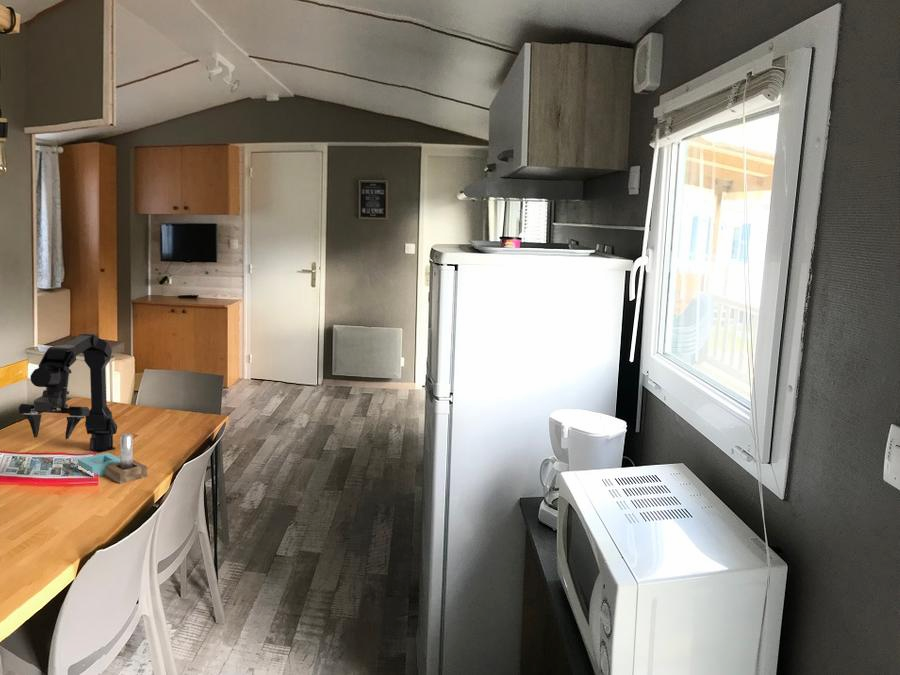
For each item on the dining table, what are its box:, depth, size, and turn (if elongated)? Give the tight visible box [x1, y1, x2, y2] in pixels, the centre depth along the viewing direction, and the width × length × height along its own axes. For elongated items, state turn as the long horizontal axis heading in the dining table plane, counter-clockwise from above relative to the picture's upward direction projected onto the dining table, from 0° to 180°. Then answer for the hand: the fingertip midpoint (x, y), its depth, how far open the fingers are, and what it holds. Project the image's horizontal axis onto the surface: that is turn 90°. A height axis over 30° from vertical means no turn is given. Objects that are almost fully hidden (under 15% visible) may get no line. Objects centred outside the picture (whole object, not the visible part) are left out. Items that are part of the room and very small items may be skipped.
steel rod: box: [119, 433, 134, 470], centre depth 214 cm, size 4×4×14 cm
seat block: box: [77, 452, 120, 477], centre depth 219 cm, size 10×10×4 cm
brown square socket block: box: [105, 459, 148, 484], centre depth 215 cm, size 9×9×4 cm
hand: (51, 438), depth 202 cm, fingers open, 9 cm apart
